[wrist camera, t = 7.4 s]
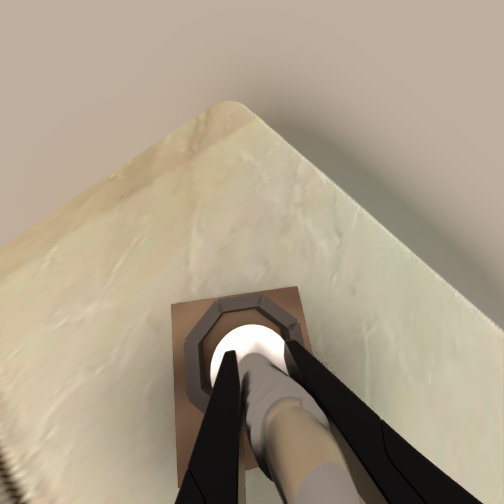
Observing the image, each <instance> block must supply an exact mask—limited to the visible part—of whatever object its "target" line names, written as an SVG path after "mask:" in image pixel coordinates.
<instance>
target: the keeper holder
mask: <svg viewBox="0 0 504 504" xmlns="http://www.w3.org/2000/svg"><path fill="white" fill-rule="evenodd" d="M171 312H172V339H173V366H174V393H175V420H176V447H177V473H178V488H180V486H181V483H182V480H183V477H184V474H185V471H186V469H188V467H187V465H188V462H189V459H190V456H191V453H192V450H193V447H194V444H195V441H196V438H197V435H198V432H199V429H200V425H201V422H202V419H203V416H204V413H205V410H206V407H207V404H208V401H209V398H210V395H211V392H212V389H213V387H212V383H211V376H210V373H211V363H212V359H213V355H214V353H215V351H216V348H217V346H218V345H219V343H220V342H221V341H222V339H223V338H224V337H225V336H226V335H227V334H229V333H230V332H231V331H233V330H235V329H236V328H239V327H242V326H245V325H259V326H264V327H266V328H269V329H271V330H272V331H274V332H275V333H277V334H278V335H279V336H280V337H281V338H282V339H283V340H284V342H285V341H286V340H291V339H295V340H297V341H298V342H299V343H300V344H301V345H302V346H303V347H304V348H305V349H306V350H308V351H309V352H310V353H311V354H312V350H311V345H310V341H309V336H308V332H307V327H306V323H305V318H304V314H303V309H302V305H301V300H300V296H299V291H298V287H297V286H295V287H289V288H282V289H275V290H268V291H261V292H254V293H247V294H240V295H233V296H226V297H219V298H213V299H206V300H199V301H192V302H185V303H178V304H171ZM312 355H313V354H312ZM244 448H245V470H249V469H253V468H256V467H259V465H258V463H257V461H256V459H255V456H254V453H253V451H252V449H251V446H250V444H249V440H248V437H247V430H246V425H245V419H244Z"/></svg>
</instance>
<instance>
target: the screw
mask: <svg viewBox="0 0 504 504" xmlns="http://www.w3.org/2000/svg"><path fill="white" fill-rule="evenodd" d="M230 350H235V351H236V355H237V362H238V370H239V377H240V386H241V396H242V406H243V415H244V419H245V425H246V430H247V437H248V440H249V444H250V446H251V449H252V451H253V453H254V456H255V459H256V461H257V463H258V465H259V467H260V469H261V470H262V471H263V473H264V474H265V475H266V476H267V477H268V478H269V479H270V480H271V481H273V482H274V484H275V486H276V489H277V491H278V493H279V495H280V498H281V500H282V502H283V504H366V503H365V502H364V500H363V499H362V498H361V497H360V495H359V494H358V493H357V490H356V487H355V484H354V481H353V478H352V475H351V473H350V470H349V467H348V465H347V462H346V460H345V458H344V455H343V453H342V451H341V449H340V447H339V445H338V443H337V441H336V440H335V438H334V436H333V435H332V434H331V429H330V425H329V423H328V420H327V418H326V416H325V414H324V413H323V411H322V410H321V409H320V408H319V407H318V405H317V403H316V402H315V400H314V399H313V398H312V397H311V396H310V395H309V394H308V393H307V392H306V391H305V389H304V388H303V387H302V386H300V385H299V384H298V383H296V382H295V381H294V380H293V379H292V378H291V377H289V375H288V372H287V368H286V364H285V361H284V340H283V339H282V338H281V337H280V336H279V335H278V334H277V333H275V332H274V331H272V330H271V329H269V328H266V327H264V326H259V325H245V326H242V327H239V328H236V329H235V330H233V331H231V332H230V333H229V334H227V335H226V336H225V337H224V338H223V339H222V341H221V342H220V343H219V345H218V346H217V348H216V351H215V353H214V355H213V359H212V363H211V373H210V376H211V383H212V387H213V386H214V383H215V379H216V376H217V373H218V370H219V367H220V364H221V361H222V358H223V355H224V353H225V352H226V351H230Z"/></svg>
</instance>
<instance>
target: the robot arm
mask: <svg viewBox="0 0 504 504" xmlns="http://www.w3.org/2000/svg"><path fill="white" fill-rule="evenodd" d="M284 361H285V364H286V368H287V372H288V375H289V377H291V378H292V379H293V380H294V381H295V382H296V383H298V384H299V385H300V386H302V387H303V388H304V389H305V391H306V392H307V393H308V394H309V395H310V396H311V397H312V398H313V399H314V400H315V402H316V403H317V405H318V407H319V408H320V409H321V410H322V411H323V413H324V414H325V416H326V418H327V420H328V423H329V425H330V429H331V434H332V435H333V436H334V438H335V440H336V441H337V443H338V445H339V447H340V449H341V451H342V453H343V455H344V458H345V460H346V462H347V465H348V467H349V470H350V473H351V475H352V478H353V481H354V484H355V487H356V490H357V493H358V494H359V495H360V497H361V498H362V499H363V500H364V502H365V503H366V504H483V503H482V502H480V501H479V500H478V499H477V498H475V497H474V496H473V495H472V494H470V493H469V492H468V491H467V490H465V489H464V488H463V487H462V486H460V485H459V484H458V483H457V482H455V481H454V480H453V479H452V478H450V477H449V476H448V475H447V474H445V473H444V472H443V471H442V470H440V469H439V468H438V467H437V466H435V465H434V464H433V463H432V462H431V461H429V460H428V459H427V458H426V457H424V456H423V455H422V454H421V453H420V452H418V451H417V450H416V449H415V448H414V447H413V446H411V445H410V444H409V443H408V442H407V441H406V440H405V439H404V438H402V437H401V436H400V435H399V434H398V433H397V432H396V431H395V430H393V429H392V428H391V427H390V426H389V425H388V424H387V423H386V422H385V421H384V420H382V419H380V417H379V416H378V415H377V414H376V413H375V412H374V411H373V410H372V409H371V408H369V407H368V406H367V405H366V404H365V403H364V402H363V401H362V400H361V399H360V398H359V397H357V396H356V395H355V394H354V393H353V392H352V391H351V390H350V389H349V388H348V387H347V386H346V385H344V384H343V383H342V382H341V381H340V380H339V379H338V378H337V377H336V376H335V375H334V374H333V373H331V372H330V371H329V370H328V369H327V368H326V367H325V366H324V365H323V364H322V363H321V362H319V361H318V360H317V359H316V358H315V357H314V356H313V355H312V354H311V353H310V352H309V351H308V350H306V349H305V348H304V347H303V346H302V345H301V344H300V343H299V342H298V341H297V340H295V339H291V340H286V341H285V342H284ZM187 467H188V469H186V471H185V474H184V477H183V480H182V483H181V486H180V489H179V492H178V495H177V498H176V501H175V503H174V504H246V491H245V448H244V415H243V406H242V396H241V386H240V377H239V370H238V362H237V355H236V351H235V350H230V351H226V352H225V353H224V355H223V358H222V361H221V364H220V367H219V370H218V373H217V376H216V379H215V383H214V386H213V389H212V392H211V395H210V398H209V401H208V404H207V407H206V410H205V413H204V416H203V419H202V422H201V425H200V429H199V432H198V435H197V438H196V441H195V444H194V447H193V450H192V453H191V456H190V459H189V462H188V465H187Z"/></svg>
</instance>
